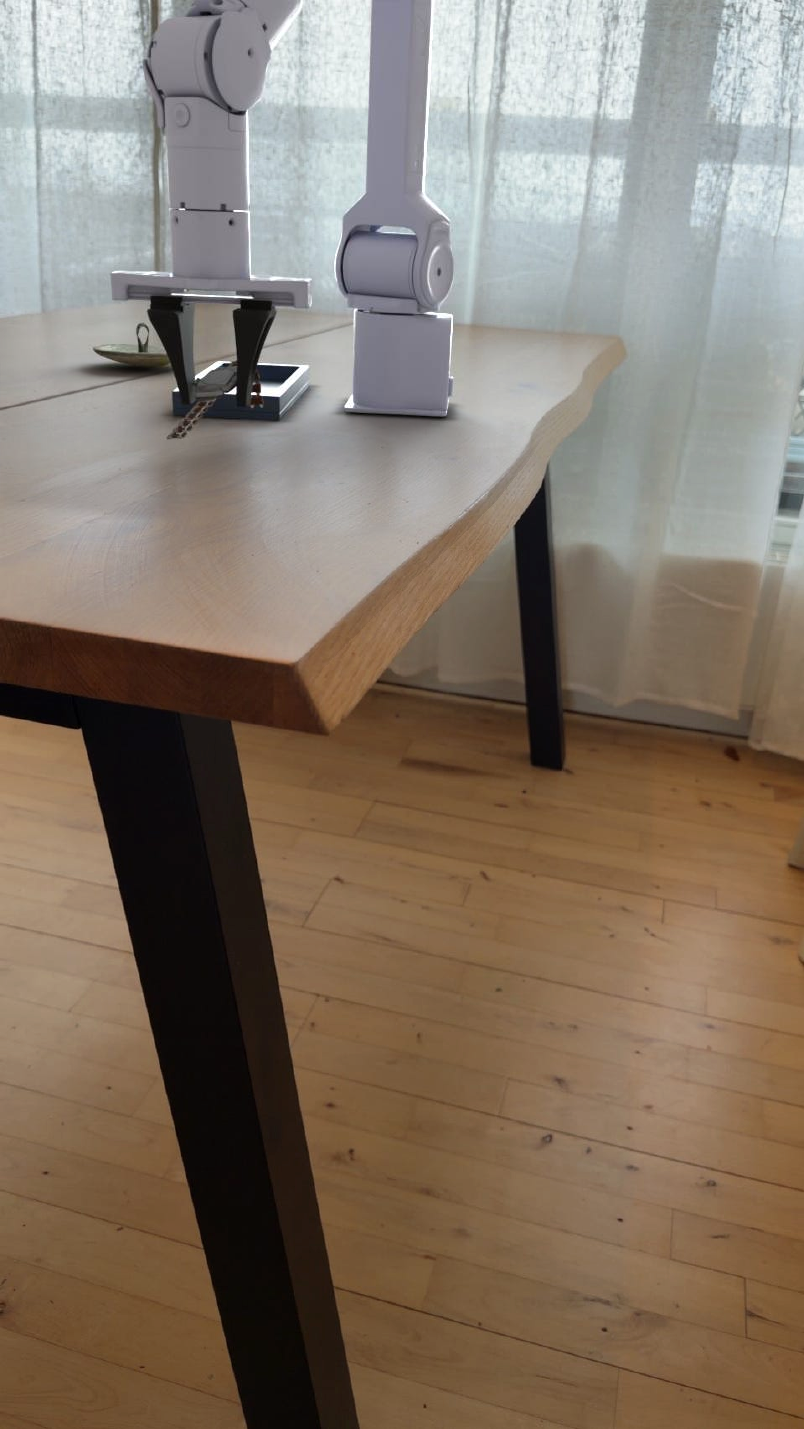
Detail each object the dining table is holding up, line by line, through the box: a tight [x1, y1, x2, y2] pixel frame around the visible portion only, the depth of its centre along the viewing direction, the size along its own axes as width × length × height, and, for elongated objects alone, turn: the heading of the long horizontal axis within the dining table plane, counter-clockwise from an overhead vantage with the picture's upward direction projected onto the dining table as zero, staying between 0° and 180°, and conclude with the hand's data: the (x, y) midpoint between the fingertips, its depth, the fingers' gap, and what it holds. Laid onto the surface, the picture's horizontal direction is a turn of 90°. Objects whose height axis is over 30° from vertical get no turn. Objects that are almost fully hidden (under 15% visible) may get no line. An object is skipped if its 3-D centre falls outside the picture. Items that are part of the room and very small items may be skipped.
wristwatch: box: [166, 359, 264, 440], centre depth 88 cm, size 4×14×5 cm, turn 162°
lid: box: [92, 322, 171, 368], centre depth 126 cm, size 11×10×5 cm
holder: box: [171, 361, 310, 421], centre depth 110 cm, size 20×10×2 cm, turn 177°
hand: (215, 403), depth 88 cm, fingers closed on wristwatch, 4 cm apart
